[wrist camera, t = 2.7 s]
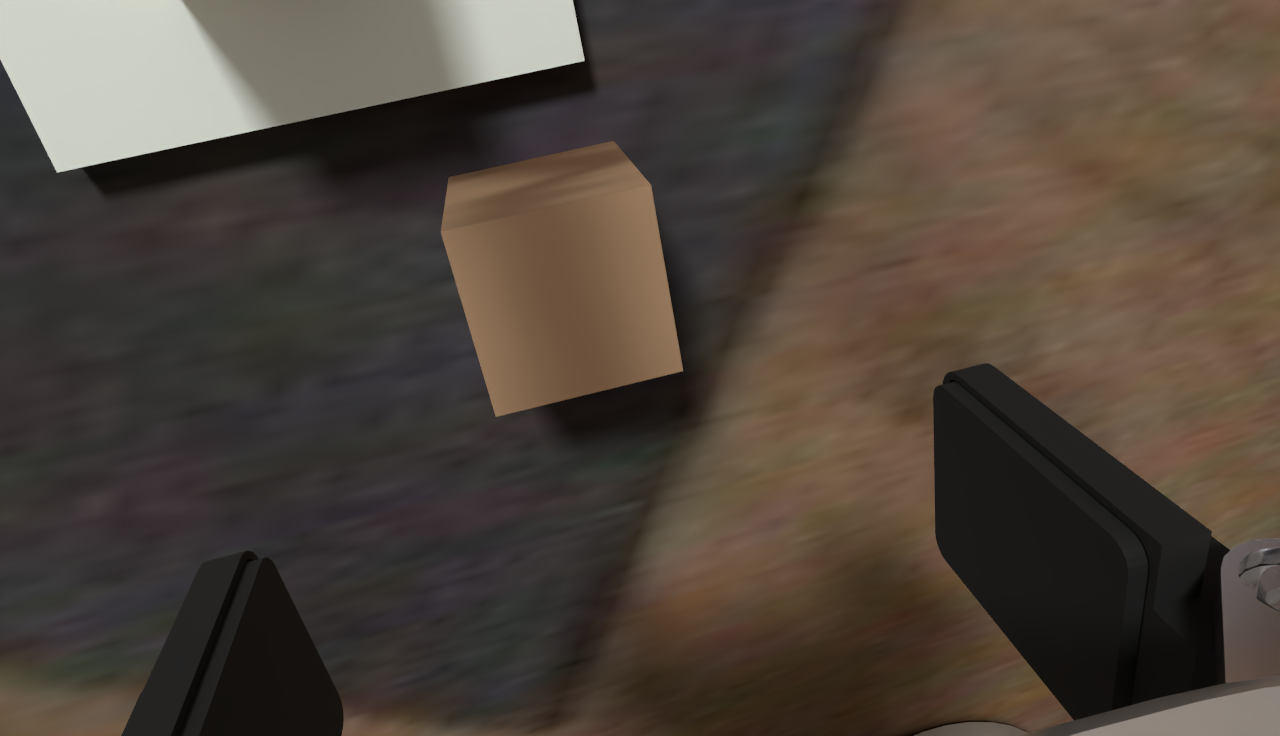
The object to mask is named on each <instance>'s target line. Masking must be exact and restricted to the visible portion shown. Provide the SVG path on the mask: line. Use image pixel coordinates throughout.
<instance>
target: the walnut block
mask: <svg viewBox="0 0 1280 736" xmlns="http://www.w3.org/2000/svg"><path fill="white" fill-rule="evenodd" d="M441 234H442V238H443V241H444V244H445V248H446V251H447V255H448V258H449V261H450V265H451V268H452V271H453V275H454V278H455V281H456V285H457V288H458V291H459V295H460V298H461V302H462V305H463V308H464V312H465V315H466V318H467V322H468V325H469V328H470V332H471V335H472V338H473V342H474V345H475V348H476V352H477V355H478V359H479V362H480V365H481V369H482V372H483V375H484V379H485V382H486V385H487V389H488V392H489V395H490V399H491V402H492V406H493V409H494V412H495V416H496V417H497V416H501V415H505V414H509V413H513V412H518V411H522V410H526V409H530V408H534V407H538V406H542V405H546V404H550V403H554V402H559V401H563V400H567V399H571V398H575V397H579V396H583V395H587V394H591V393H595V392H600V391H604V390H608V389H612V388H616V387H620V386H624V385H628V384H632V383H636V382H641V381H645V380H649V379H653V378H657V377H661V376H665V375H669V374H673V373H677V372H682V371H683V367H682V361H681V355H680V350H679V344H678V338H677V332H676V327H675V321H674V315H673V309H672V304H671V298H670V292H669V286H668V281H667V275H666V269H665V263H664V258H663V252H662V246H661V240H660V235H659V229H658V223H657V217H656V211H655V206H654V200H653V194H652V188H651V185H650V183H649V182H648V181H647V180H646V179H645V177H644V176H643V175H642V174H641V173H640V172H639V170H638V169H637V168H636V167H635V166H634V164H633V163H632V162H631V161H630V160H629V159H628V157H627V156H626V155H625V154H624V153H623V152H622V150H621V149H620V148H619V147H618V146H617V144H616V143H615V142H614V141H611V142H607V143H602V144H598V145H593V146H589V147H584V148H579V149H575V150H570V151H566V152H561V153H557V154H552V155H547V156H543V157H538V158H534V159H529V160H525V161H520V162H515V163H511V164H506V165H502V166H497V167H493V168H488V169H483V170H479V171H474V172H470V173H465V174H461V175H456V176H451V177H449V179H448V186H447V193H446V200H445V207H444V213H443V220H442V227H441Z"/></svg>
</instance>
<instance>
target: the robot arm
mask: <svg viewBox="0 0 1280 736" xmlns="http://www.w3.org/2000/svg"><path fill="white" fill-rule="evenodd" d="M933 404H934V469H935V533H936V540H937V544H938V547H939V549H940V552H941V554H942V556H943V557H944V559H945V560H946V562H947V563H948V564H949V565H950V567H951V568H952V569H953V570H954V572H955V573H956V574H957V575H958V576H959V578H960V579H961V580H962V581H963V583H964V584H965V585H966V586H967V588H968V589H969V590H970V591H971V593H972V594H973V595H974V596H975V598H976V599H977V600H978V601H979V603H980V604H981V605H982V606H983V608H984V609H985V610H986V611H987V613H988V614H989V615H990V616H991V618H992V619H993V620H994V621H995V623H996V624H997V625H998V626H999V628H1000V629H1001V630H1002V631H1003V632H1004V634H1005V635H1006V636H1007V637H1008V639H1009V640H1010V641H1011V642H1012V644H1013V645H1014V646H1015V647H1016V649H1017V650H1018V651H1019V652H1020V654H1021V655H1022V656H1023V657H1024V659H1025V660H1026V661H1027V662H1028V664H1029V665H1030V666H1031V667H1032V669H1033V670H1034V671H1035V672H1036V674H1037V675H1038V676H1039V677H1040V679H1041V680H1042V681H1043V682H1044V684H1045V685H1046V686H1047V687H1048V688H1049V690H1050V691H1051V692H1052V693H1053V695H1054V696H1055V697H1056V698H1057V700H1058V701H1059V702H1060V703H1061V705H1062V706H1063V707H1064V708H1065V710H1066V711H1067V712H1068V713H1069V715H1070V716H1071V717H1072V718H1073V720H1074V721H1071V722H1067V723H1064V724H1060V725H1056V726H1052V727H1049V728H1045V729H1041V730H1038V731H1034V732H1031V733H1028V732H1025V731H1023V730H1021V729H1018V728H1016V727H1013V726H1010V725H1005V724H999V723H994V722H964V723H957V724H950V725H944V726H941V727H937V728H934V729H930V730H927V731H923V732H920V733H918V734H916V735H913V736H1280V539H1275V538H1271V539H1261V540H1251V541H1248V542H1246V543H1243V544H1240V545H1238V546H1235V547H1234V548H1232V549H1231V550H1229V549H1228V548H1226V547H1225V546H1224V545H1222V544H1221V543H1220V542H1218V541H1217V540H1216V539H1215V538H1213V537H1212V536H1211V533H1212V531H1210V530H1209V529H1208V528H1206V527H1205V526H1204V525H1202V524H1201V523H1200V522H1198V521H1197V520H1196V519H1195V518H1193V517H1192V516H1191V515H1189V514H1188V513H1187V512H1185V511H1184V510H1183V509H1181V508H1180V507H1179V506H1177V505H1176V504H1175V503H1173V502H1172V501H1171V500H1169V499H1168V498H1167V497H1165V496H1164V495H1163V494H1162V493H1160V492H1159V491H1158V490H1156V489H1155V488H1154V487H1152V486H1151V485H1150V484H1148V483H1147V482H1146V481H1144V480H1143V479H1142V478H1140V477H1139V476H1138V475H1136V474H1135V473H1134V472H1132V471H1131V470H1130V469H1129V468H1127V467H1126V466H1125V465H1123V464H1122V463H1121V462H1119V461H1118V460H1117V459H1115V458H1114V457H1113V456H1111V455H1110V454H1109V453H1107V452H1106V451H1105V450H1103V449H1102V448H1101V447H1099V446H1098V445H1097V444H1096V443H1094V442H1093V441H1092V440H1090V439H1089V438H1088V437H1086V436H1085V435H1084V434H1082V433H1081V432H1080V431H1078V430H1077V429H1076V428H1074V427H1073V426H1072V425H1070V424H1069V423H1068V422H1066V421H1065V420H1064V419H1063V418H1061V417H1060V416H1059V415H1057V414H1056V413H1055V412H1053V411H1052V410H1051V409H1049V408H1048V407H1047V406H1045V405H1044V404H1043V403H1041V402H1040V401H1039V400H1037V399H1036V398H1035V397H1034V396H1032V395H1031V394H1030V393H1028V392H1027V391H1026V390H1024V389H1023V388H1022V387H1020V386H1019V385H1018V384H1016V383H1015V382H1014V381H1012V380H1011V379H1010V378H1008V377H1007V376H1006V375H1004V374H1003V373H1002V372H1001V371H999V370H998V369H997V368H995V367H994V366H992V365H990V364H980V365H976V366H973V367H969V368H965V369H961V370H957V371H953V372H949V373H948V374H946V375H945V377H944V380H943V385H939V386H937V387H936V388H935V390H934V396H933ZM342 729H343V707H342V703H341V699H340V697H339V694H338V692H337V690H336V688H335V686H334V684H333V682H332V680H331V678H330V676H329V674H328V672H327V670H326V668H325V666H324V664H323V662H322V660H321V658H320V656H319V654H318V652H317V650H316V648H315V645H314V643H313V641H312V639H311V637H310V635H309V633H308V631H307V629H306V627H305V625H304V623H303V621H302V619H301V617H300V615H299V613H298V611H297V609H296V607H295V605H294V603H293V601H292V599H291V597H290V595H289V593H288V591H287V589H286V587H285V585H284V583H283V581H282V579H281V577H280V575H279V573H278V571H277V569H276V567H275V565H274V563H273V562H272V560H270V559H269V558H266V557H265V558H261V559H258V557H257V556H256V555H255V554H254V553H253V552H251V551H245V552H241V553H237V554H233V555H229V556H225V557H221V558H217V559H213V560H209V561H206V562H204V563H202V565H201V566H200V568H199V570H198V572H197V574H196V576H195V578H194V580H193V583H192V585H191V587H190V589H189V591H188V594H187V596H186V598H185V600H184V602H183V605H182V607H181V609H180V611H179V613H178V616H177V618H176V620H175V622H174V624H173V626H172V629H171V631H170V633H169V635H168V637H167V640H166V642H165V644H164V646H163V648H162V651H161V653H160V655H159V657H158V659H157V661H156V664H155V666H154V668H153V670H152V672H151V675H150V677H149V679H148V681H147V683H146V686H145V688H144V690H143V691H142V693H141V694H140V696H139V698H138V701H137V703H136V705H135V707H134V709H133V712H132V714H131V716H130V718H129V720H128V722H127V725H126V727H125V729H124V731H123V733H122V736H341V735H342Z"/></svg>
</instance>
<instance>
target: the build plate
mask: <svg viewBox="0 0 1280 736" xmlns="http://www.w3.org/2000/svg"><path fill="white" fill-rule="evenodd" d="M0 60H1V62H2V64H3V66H4V68H5V70H6V72H7V74H8V76H9V78H10V80H11V82H12V84H13V86H14V88H15V90H16V92H17V94H18V95H19V97H20V99H21V101H22V103H23V105H24V107H25V109H26V111H27V113H28V115H29V117H30V119H31V121H32V123H33V125H34V127H35V129H36V131H37V133H38V135H39V137H40V139H41V141H42V143H43V145H44V147H45V149H46V151H47V153H48V155H49V157H50V159H51V161H52V163H53V165H54V167H55V169H56V171H57V172H62V171H67V170H72V169H76V168H81V167H86V166H90V165H95V164H100V163H105V162H109V161H114V160H119V159H124V158H128V157H133V156H138V155H142V154H147V153H152V152H157V151H161V150H166V149H171V148H176V147H180V146H185V145H190V144H194V143H199V142H204V141H209V140H213V139H218V138H223V137H228V136H232V135H237V134H242V133H246V132H251V131H256V130H261V129H265V128H270V127H275V126H280V125H284V124H289V123H294V122H298V121H303V120H308V119H313V118H317V117H322V116H327V115H332V114H336V113H341V112H346V111H350V110H355V109H360V108H365V107H369V106H374V105H379V104H384V103H388V102H393V101H398V100H402V99H407V98H412V97H417V96H421V95H426V94H431V93H436V92H440V91H445V90H450V89H454V88H459V87H464V86H469V85H473V84H478V83H483V82H488V81H492V80H497V79H502V78H507V77H511V76H516V75H521V74H525V73H530V72H535V71H540V70H544V69H549V68H554V67H559V66H563V65H568V64H573V63H577V62H582V61H585V59H584V54H583V49H582V44H581V39H580V34H579V29H578V24H577V19H576V14H575V9H574V4H573V0H0Z"/></svg>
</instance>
